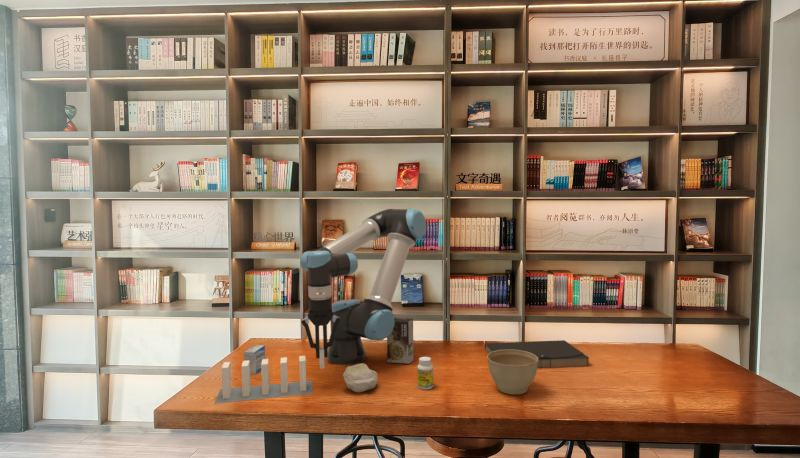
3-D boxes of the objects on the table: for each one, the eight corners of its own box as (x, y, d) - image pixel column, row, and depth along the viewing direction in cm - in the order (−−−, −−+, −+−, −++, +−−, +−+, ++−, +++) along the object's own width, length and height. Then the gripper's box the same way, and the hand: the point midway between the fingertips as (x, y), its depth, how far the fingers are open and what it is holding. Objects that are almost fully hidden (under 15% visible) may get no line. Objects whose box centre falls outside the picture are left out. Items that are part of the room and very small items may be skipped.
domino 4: (287, 386, 159) (287, 357, 159) (287, 392, 154) (286, 362, 153) (281, 386, 159) (280, 357, 158) (281, 393, 154) (280, 363, 153)
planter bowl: (535, 381, 161) (536, 350, 161) (539, 401, 146) (540, 367, 145) (487, 378, 165) (487, 347, 164) (486, 397, 149) (486, 364, 148)
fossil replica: (384, 386, 159) (359, 383, 164) (383, 361, 160) (358, 359, 164) (365, 397, 149) (339, 394, 154) (364, 370, 149) (338, 368, 154)
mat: (311, 381, 164) (311, 380, 164) (312, 394, 153) (312, 393, 153) (220, 390, 158) (220, 389, 157) (214, 404, 147) (214, 403, 147)
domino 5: (306, 384, 161) (305, 355, 160) (306, 390, 155) (305, 360, 155) (300, 385, 160) (299, 356, 159) (300, 391, 155) (299, 361, 154)
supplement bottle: (435, 384, 160) (434, 356, 159) (431, 390, 155) (431, 362, 154) (419, 382, 162) (419, 355, 161) (415, 388, 157) (415, 360, 156)
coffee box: (414, 359, 185) (413, 318, 184) (409, 364, 179) (409, 321, 178) (392, 357, 188) (391, 317, 187) (386, 362, 181) (386, 320, 181)
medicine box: (255, 375, 170) (254, 352, 170) (244, 374, 171) (243, 351, 171) (266, 367, 178) (265, 345, 178) (255, 367, 179) (254, 344, 178)
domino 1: (231, 391, 155) (230, 361, 155) (229, 398, 150) (228, 367, 150) (225, 392, 155) (224, 362, 154) (222, 398, 150) (221, 368, 149)
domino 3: (269, 388, 158) (268, 358, 157) (268, 394, 153) (267, 364, 152) (263, 388, 158) (262, 359, 157) (262, 395, 153) (261, 364, 152)
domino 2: (250, 389, 157) (249, 360, 156) (249, 396, 152) (247, 365, 151) (244, 390, 156) (243, 360, 156) (242, 396, 151) (241, 366, 151)
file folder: (501, 360, 172) (484, 341, 196) (501, 371, 172) (484, 351, 196) (589, 356, 174) (562, 338, 198) (589, 367, 175) (562, 348, 199)
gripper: (300, 301, 152) (302, 373, 154) (340, 298, 155) (342, 369, 156) (300, 296, 159) (302, 365, 161) (338, 294, 162) (340, 361, 164)
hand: (322, 367), depth 159 cm, fingers closed
